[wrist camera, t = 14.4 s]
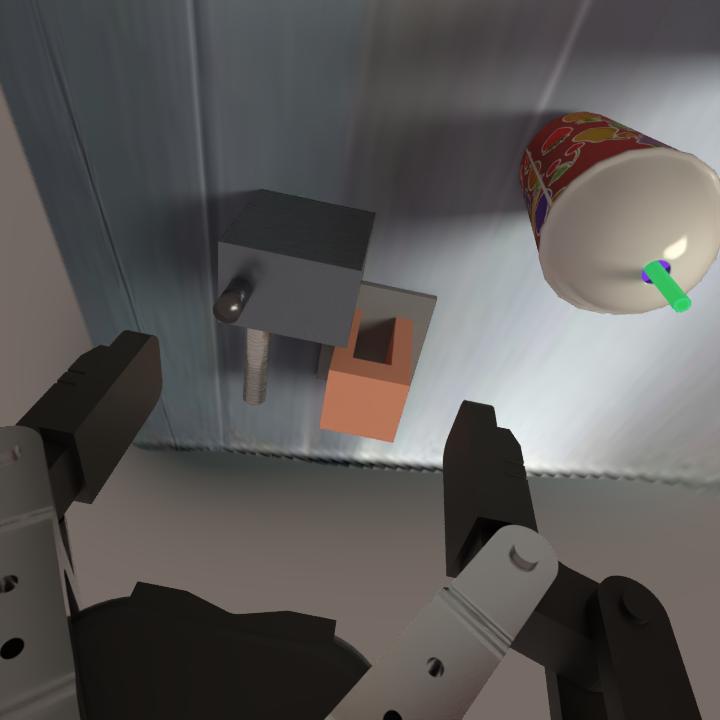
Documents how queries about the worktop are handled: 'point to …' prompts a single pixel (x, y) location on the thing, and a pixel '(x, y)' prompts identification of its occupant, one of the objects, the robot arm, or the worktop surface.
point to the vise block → (290, 276)
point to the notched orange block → (369, 386)
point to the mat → (384, 324)
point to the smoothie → (619, 215)
